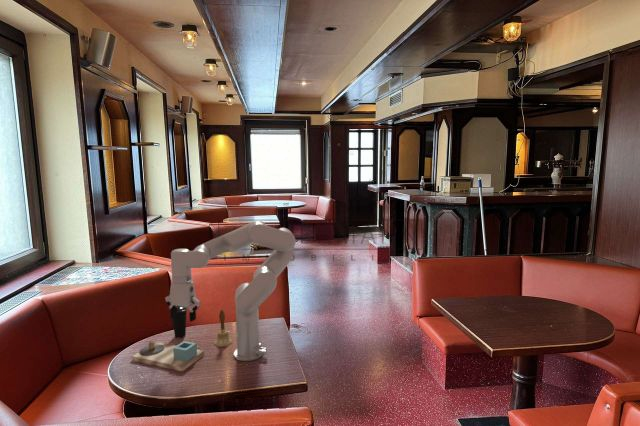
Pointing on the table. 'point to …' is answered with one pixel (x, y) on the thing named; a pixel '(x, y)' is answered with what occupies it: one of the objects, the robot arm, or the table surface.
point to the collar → (185, 351)
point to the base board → (163, 356)
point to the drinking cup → (180, 322)
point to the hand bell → (222, 333)
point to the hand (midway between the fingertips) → (183, 318)
